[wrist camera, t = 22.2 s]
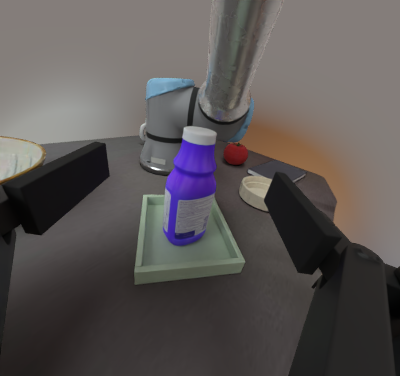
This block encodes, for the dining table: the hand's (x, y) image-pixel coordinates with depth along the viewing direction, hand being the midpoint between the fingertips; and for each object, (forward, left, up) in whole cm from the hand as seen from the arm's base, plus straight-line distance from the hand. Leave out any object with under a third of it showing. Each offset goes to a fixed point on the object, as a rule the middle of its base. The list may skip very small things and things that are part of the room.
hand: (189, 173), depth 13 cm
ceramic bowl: (-20, +25, -16) cm, 36 cm away
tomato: (-43, +25, -17) cm, 53 cm away
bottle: (-9, +2, -16) cm, 18 cm away
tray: (-9, +3, -16) cm, 19 cm away
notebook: (-36, +40, -17) cm, 56 cm away
